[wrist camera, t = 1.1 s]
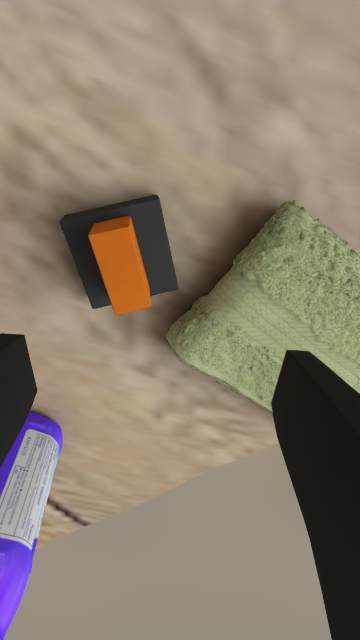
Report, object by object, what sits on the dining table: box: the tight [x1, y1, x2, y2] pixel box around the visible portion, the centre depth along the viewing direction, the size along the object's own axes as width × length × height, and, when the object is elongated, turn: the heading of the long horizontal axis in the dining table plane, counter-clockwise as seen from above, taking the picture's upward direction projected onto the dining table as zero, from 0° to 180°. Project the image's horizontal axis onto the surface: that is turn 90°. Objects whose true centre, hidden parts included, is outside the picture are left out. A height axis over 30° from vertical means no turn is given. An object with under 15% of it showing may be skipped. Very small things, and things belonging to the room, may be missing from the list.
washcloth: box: [165, 200, 360, 413], centre depth 23 cm, size 13×18×3 cm
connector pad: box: [60, 195, 178, 315], centre depth 18 cm, size 5×5×4 cm
